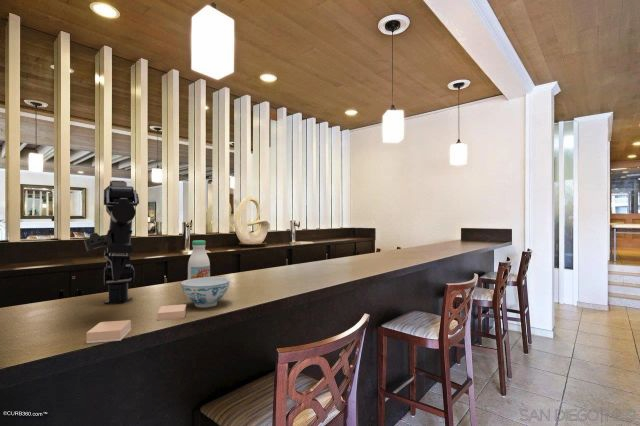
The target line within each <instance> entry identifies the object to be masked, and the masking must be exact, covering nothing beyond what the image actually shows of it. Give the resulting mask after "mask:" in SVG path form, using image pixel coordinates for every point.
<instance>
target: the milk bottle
mask: <svg viewBox="0 0 640 426" xmlns="http://www.w3.org/2000/svg"><path fill="white" fill-rule="evenodd" d="M206 242H207V241H206V240H202V239H200V240H197V239H196V240H192V243H191V244H192V252H191V255H190V257H189V259H188V261H187V262H188V263H187V280H189V279H195V278H204V277H211V264H210V263H211V262H210V258H209V256H208V254H207V251H206Z"/></svg>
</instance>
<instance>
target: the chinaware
mask: <svg viewBox="0 0 640 426" xmlns="http://www.w3.org/2000/svg"><path fill="white" fill-rule="evenodd" d="M230 282H231V279H230V278H227V277H221V276H220V277H219V276H210V277H204V278H195V279H189V280H188V279H186V280H183V281H182V282H181V284H180V286H181V288H182V289H181V290H182V291H183V294H184V296H185V297H186V298H187V299H188V300H189V301H190V302H191V303H193V304H194V306H195V307H196V308H209V307H210V308H211V307H215V306H217V304H218V302H219V301H220V300H222V298H223V297H224V296H225V294H226V293H227V291H228V288H229V286H230Z"/></svg>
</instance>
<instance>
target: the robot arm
mask: <svg viewBox="0 0 640 426" xmlns="http://www.w3.org/2000/svg"><path fill="white" fill-rule="evenodd" d="M127 184H128V183H127V181H124V180H110V181H109V185H108V186H107V187H105V188H104V189H103V206H105V212H106V213H107V214H108V215H109V216H110V218H109V228H108V230H107V233H106V234H101V235H100V234H98V232H93V233H90V234H89V238H86V239H84V241H83V243H84V245H85V248H86V252H93V251H94V250H98V249H102V248H105V250H104V253H103V258H105V259H106V266H104V269H103V285H104V286H106V287H107V286H108V299H107V300H106V301H104V302H103V304H108V305H109V304H125V303H127V302H129V301H131V300H132V299H133V297H130V296H129V284H133V283H134V282H136V281H135V279H136V278H135V277H136V269H135V268H134V265H133V264H132V262H131V261H132V259H131V258H132V257H131V256H130V255H133V254H134V252H135V246H134V245H133V244H132V243H131V237H132V234H133V230H132V228H133V220H134V218H135V216H136V213H137V211H136V208H135V207H138V205H139V204H140V198H139V194H138V193H137V190H136V189H134V186H128V185H127Z"/></svg>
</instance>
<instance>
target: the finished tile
mask: <svg viewBox="0 0 640 426" xmlns="http://www.w3.org/2000/svg"><path fill="white" fill-rule="evenodd" d="M186 313H187V303H186V304H171V305H161V306H160V307H159V310H158V311H157V315H156V316H157V321H166V320H175V319H177V320H178V319H185V317H186Z"/></svg>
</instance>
